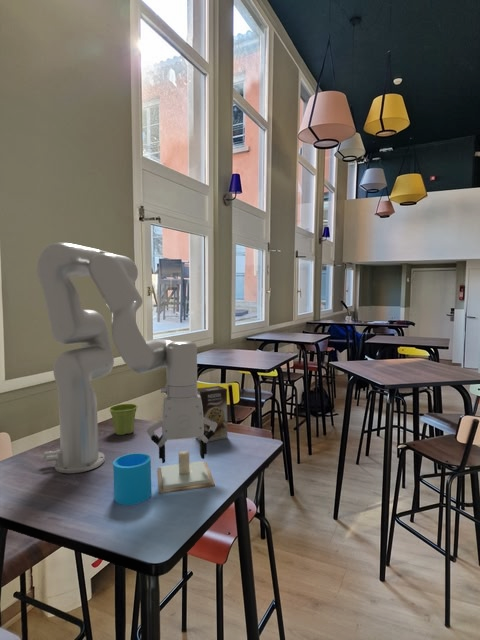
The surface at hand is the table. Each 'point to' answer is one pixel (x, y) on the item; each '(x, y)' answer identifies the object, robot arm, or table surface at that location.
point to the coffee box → (215, 410)
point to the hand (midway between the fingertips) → (183, 458)
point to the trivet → (185, 486)
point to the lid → (184, 473)
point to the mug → (132, 478)
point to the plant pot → (123, 418)
